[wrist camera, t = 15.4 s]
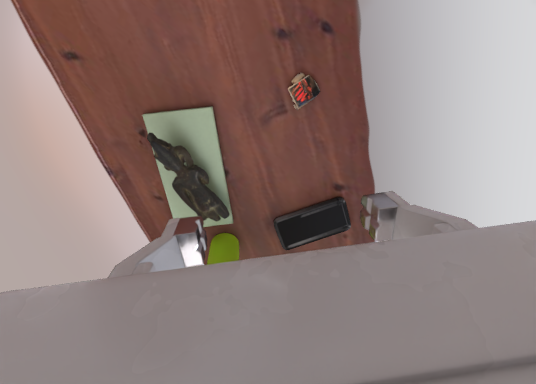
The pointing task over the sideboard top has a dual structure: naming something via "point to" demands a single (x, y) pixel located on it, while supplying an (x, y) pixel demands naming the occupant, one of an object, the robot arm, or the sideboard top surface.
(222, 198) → the board
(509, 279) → the robot arm
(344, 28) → the sideboard top surface
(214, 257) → the soap dispenser
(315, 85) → the matchbox
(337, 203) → the phone
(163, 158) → the statue
